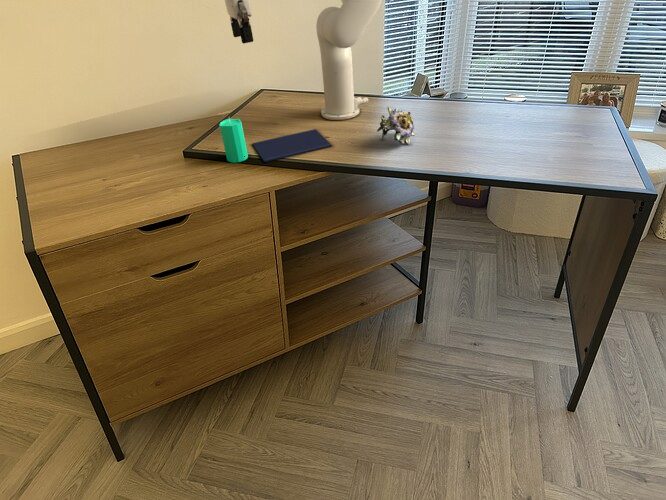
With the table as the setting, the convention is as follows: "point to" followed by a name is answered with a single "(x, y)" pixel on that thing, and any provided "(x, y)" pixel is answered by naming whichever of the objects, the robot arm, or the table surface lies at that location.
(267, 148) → the cloth
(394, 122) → the passion flower
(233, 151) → the candle
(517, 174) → the table surface
